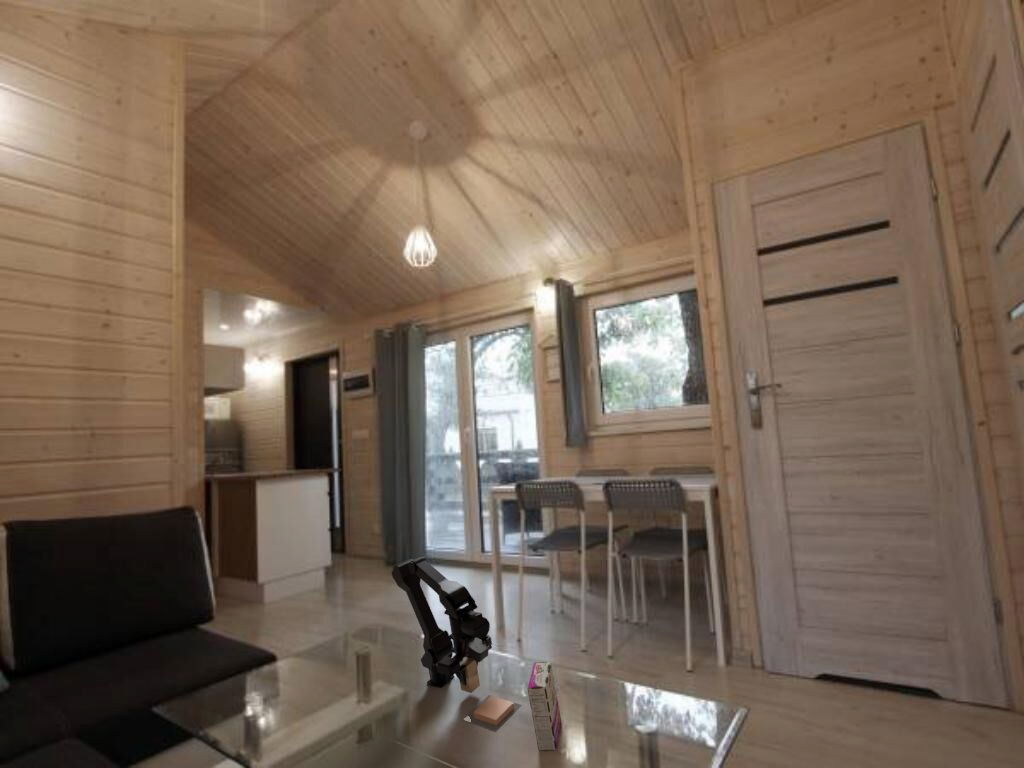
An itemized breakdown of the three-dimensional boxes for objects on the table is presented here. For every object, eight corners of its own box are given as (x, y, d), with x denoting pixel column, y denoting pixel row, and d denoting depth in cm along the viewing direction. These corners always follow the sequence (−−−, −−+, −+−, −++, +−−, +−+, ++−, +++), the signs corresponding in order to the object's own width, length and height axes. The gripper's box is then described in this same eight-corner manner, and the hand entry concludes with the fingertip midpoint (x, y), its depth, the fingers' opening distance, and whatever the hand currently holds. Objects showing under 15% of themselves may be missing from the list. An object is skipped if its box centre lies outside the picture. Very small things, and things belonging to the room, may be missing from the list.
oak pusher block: (461, 689, 163) (456, 663, 162) (470, 682, 166) (465, 656, 166) (471, 693, 160) (466, 666, 160) (480, 685, 163) (475, 659, 163)
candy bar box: (543, 721, 146) (533, 661, 146) (561, 721, 145) (551, 660, 145) (537, 752, 135) (526, 687, 135) (557, 751, 134) (546, 686, 134)
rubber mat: (462, 720, 152) (461, 719, 152) (489, 695, 162) (489, 694, 162) (495, 732, 145) (495, 731, 145) (521, 706, 154) (521, 704, 154)
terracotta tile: (473, 712, 152) (495, 719, 147) (491, 695, 158) (513, 702, 153) (474, 718, 152) (496, 725, 147) (492, 701, 158) (514, 708, 153)
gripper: (459, 651, 150) (468, 706, 151) (501, 619, 165) (509, 669, 166) (431, 643, 157) (440, 696, 157) (473, 613, 172) (481, 662, 172)
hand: (469, 681), depth 163 cm, fingers closed on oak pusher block, 4 cm apart
